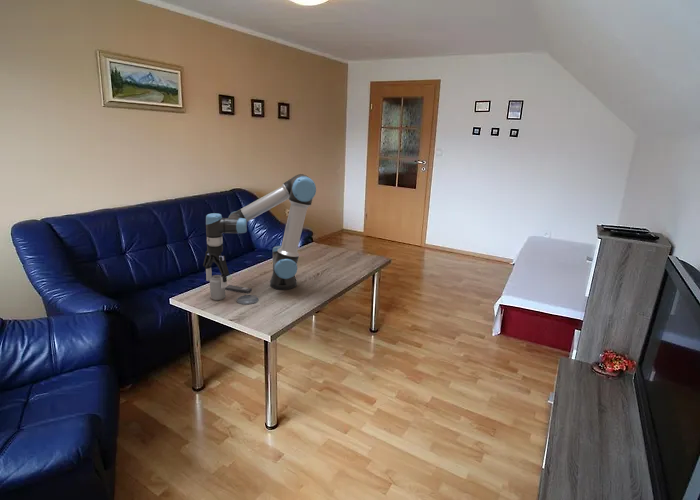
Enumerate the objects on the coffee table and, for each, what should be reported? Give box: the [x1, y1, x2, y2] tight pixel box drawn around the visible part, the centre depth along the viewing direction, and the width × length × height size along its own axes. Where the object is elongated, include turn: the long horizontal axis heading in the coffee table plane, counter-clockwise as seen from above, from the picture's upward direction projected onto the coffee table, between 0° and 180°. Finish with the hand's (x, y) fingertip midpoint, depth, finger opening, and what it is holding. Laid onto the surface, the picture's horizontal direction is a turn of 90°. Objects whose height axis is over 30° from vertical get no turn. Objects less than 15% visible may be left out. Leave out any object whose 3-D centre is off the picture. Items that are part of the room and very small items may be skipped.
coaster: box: [236, 294, 259, 306], centre depth 208 cm, size 11×11×1 cm
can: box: [209, 274, 227, 301], centre depth 208 cm, size 8×8×12 cm
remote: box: [225, 284, 252, 295], centre depth 220 cm, size 14×4×2 cm, turn 73°
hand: (216, 283), depth 207 cm, fingers open, 13 cm apart
